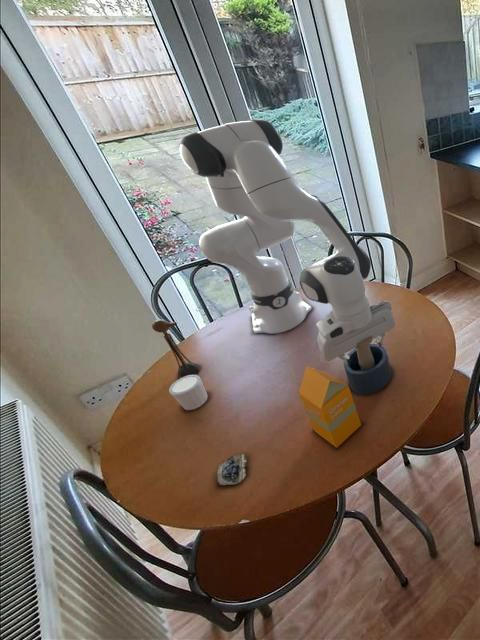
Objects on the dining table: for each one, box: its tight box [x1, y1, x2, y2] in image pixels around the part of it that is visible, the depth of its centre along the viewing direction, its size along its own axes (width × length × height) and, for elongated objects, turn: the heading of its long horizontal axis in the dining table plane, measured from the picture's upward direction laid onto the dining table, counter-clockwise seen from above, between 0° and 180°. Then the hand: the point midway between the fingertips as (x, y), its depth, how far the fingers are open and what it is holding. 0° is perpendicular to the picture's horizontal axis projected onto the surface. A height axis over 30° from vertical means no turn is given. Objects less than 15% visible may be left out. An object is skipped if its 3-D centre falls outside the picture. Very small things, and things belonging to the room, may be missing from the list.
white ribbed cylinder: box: [168, 374, 209, 411], centre depth 108 cm, size 7×7×7 cm
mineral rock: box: [216, 453, 247, 486], centre depth 92 cm, size 7×8×2 cm
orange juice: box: [298, 365, 362, 448], centre depth 97 cm, size 8×9×20 cm
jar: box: [343, 343, 392, 395], centre depth 114 cm, size 12×12×8 cm
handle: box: [356, 336, 375, 371], centre depth 112 cm, size 5×6×15 cm
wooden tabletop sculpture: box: [151, 319, 200, 378], centre depth 114 cm, size 6×5×20 cm
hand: (364, 353), depth 111 cm, fingers open, 8 cm apart
